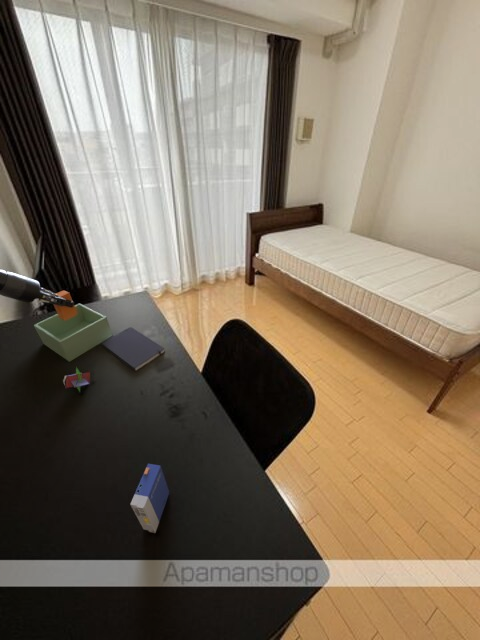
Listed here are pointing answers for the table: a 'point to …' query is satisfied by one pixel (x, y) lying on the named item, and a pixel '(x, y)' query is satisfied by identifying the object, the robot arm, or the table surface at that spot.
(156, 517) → the walkman
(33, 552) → the table surface
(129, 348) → the notebook
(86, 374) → the geometric puzzle
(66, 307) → the block
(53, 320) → the bin
